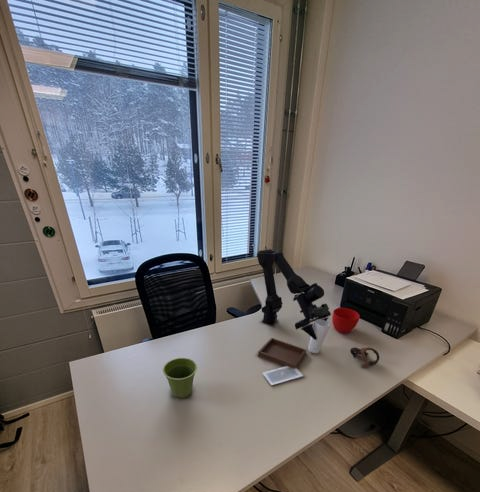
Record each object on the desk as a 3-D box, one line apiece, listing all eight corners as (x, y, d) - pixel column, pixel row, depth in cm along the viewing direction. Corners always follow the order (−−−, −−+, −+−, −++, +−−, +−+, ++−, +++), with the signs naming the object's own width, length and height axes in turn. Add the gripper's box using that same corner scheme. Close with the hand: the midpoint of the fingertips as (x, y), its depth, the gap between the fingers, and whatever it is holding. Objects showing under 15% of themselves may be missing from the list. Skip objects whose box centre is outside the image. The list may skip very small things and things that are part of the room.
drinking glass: (321, 349, 127) (331, 322, 119) (319, 356, 121) (329, 328, 114) (307, 344, 129) (316, 317, 121) (304, 351, 123) (313, 323, 116)
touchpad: (303, 377, 109) (304, 373, 108) (271, 387, 104) (271, 383, 103) (292, 366, 115) (293, 362, 114) (261, 374, 110) (262, 370, 109)
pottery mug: (372, 356, 123) (382, 349, 116) (369, 374, 119) (380, 368, 111) (347, 346, 124) (356, 338, 117) (343, 363, 120) (352, 357, 113)
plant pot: (183, 408, 93) (181, 384, 87) (159, 394, 98) (155, 370, 92) (204, 388, 102) (203, 365, 96) (181, 376, 107) (179, 353, 101)
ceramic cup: (346, 320, 152) (350, 304, 147) (359, 336, 137) (364, 319, 132) (324, 320, 151) (327, 304, 146) (334, 336, 136) (338, 319, 131)
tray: (258, 356, 120) (258, 351, 119) (271, 341, 130) (271, 337, 129) (294, 370, 112) (295, 365, 111) (305, 354, 123) (306, 349, 121)
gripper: (303, 304, 110) (320, 338, 108) (332, 294, 120) (347, 326, 118) (287, 313, 120) (302, 345, 117) (315, 303, 129) (329, 332, 127)
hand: (321, 337), depth 120 cm, fingers closed on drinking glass, 7 cm apart
